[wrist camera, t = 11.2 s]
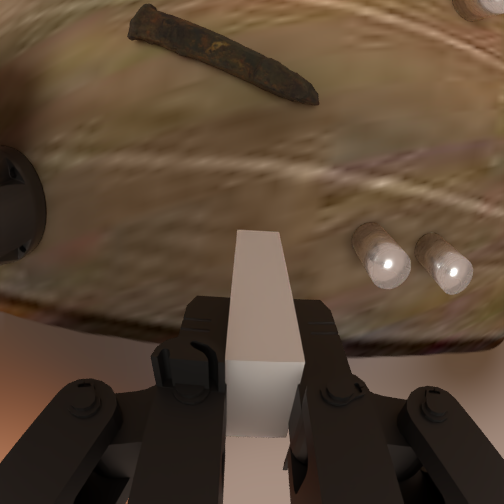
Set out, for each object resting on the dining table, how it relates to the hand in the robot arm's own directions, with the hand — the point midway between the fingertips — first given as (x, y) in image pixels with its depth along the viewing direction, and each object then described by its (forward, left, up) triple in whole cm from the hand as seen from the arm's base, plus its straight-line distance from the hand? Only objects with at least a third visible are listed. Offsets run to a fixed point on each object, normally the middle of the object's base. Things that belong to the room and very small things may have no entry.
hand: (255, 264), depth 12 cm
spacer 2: (+21, -6, -21) cm, 30 cm away
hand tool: (-4, +11, -21) cm, 24 cm away
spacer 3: (+21, +24, -21) cm, 38 cm away
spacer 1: (+13, -6, -21) cm, 25 cm away
